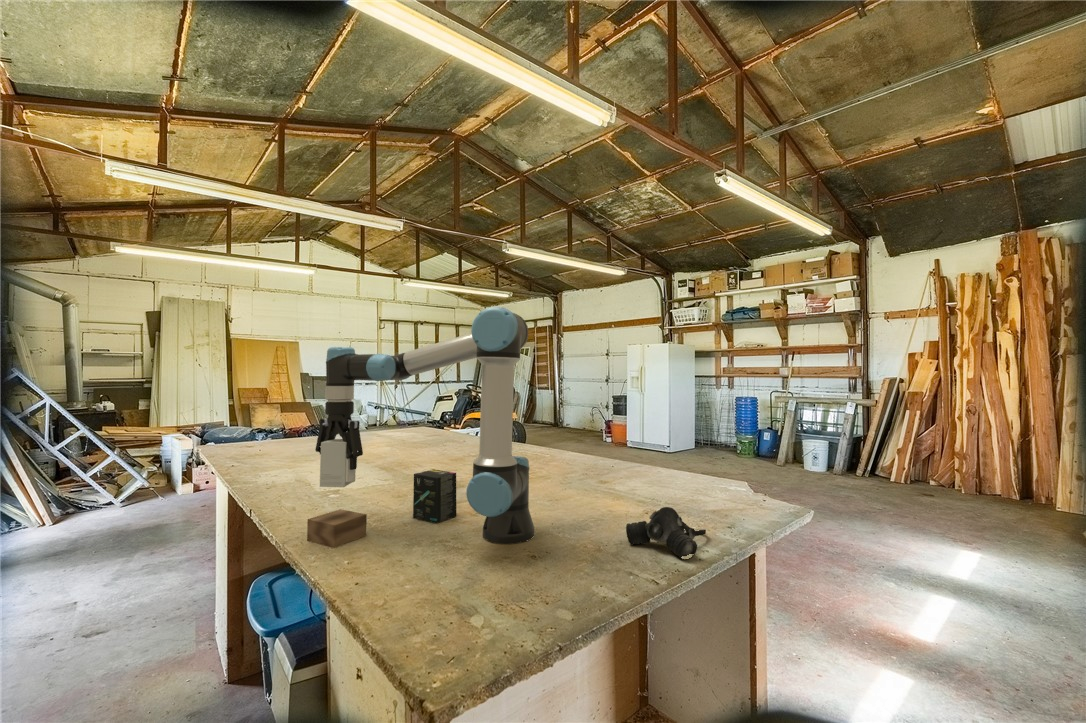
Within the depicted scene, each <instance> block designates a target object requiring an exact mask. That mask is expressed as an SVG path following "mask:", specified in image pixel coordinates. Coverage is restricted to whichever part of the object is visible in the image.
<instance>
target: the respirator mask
mask: <svg viewBox="0 0 1086 723" xmlns="http://www.w3.org/2000/svg"><path fill="white" fill-rule="evenodd" d="M649 519H650V521H649V522H647V521H646V520H642V521H638V522H632V523H626V526H625V533H626V538H627V542H628V543H629V545H631V544H633V543H635V544H634V545H641V544H648V543H650V542H651V540H653V541H655V542H659V543H663V544H666V547H667V548H668V549H669V550H671V552H672V553H674V554H675V555H676V556H677V555H678V556H679V557H678V556H677V557H678V558H679V559H681V557H682V556H687V555H689V554H694V555H695V554H696V553H697V550H698V544H697V542H696V541H695V540H694V539H695V537H697V536H703V535H706V534H707V533H706V532H707V530H706V529H705V528H704V529H698V530H699V531H695V530H694V529H695V528H693V527H690V526H689V525H688V524H687V523H685V522H684V521H683V518H682V516H679V513H678V512H677V511H676V510H675V509H674V508H673V507H670V506H663V507H661V508H660V509H658V510H657V511H653V512H652V514H651V515H649ZM684 529H685V530H686V531H684ZM640 543H641V544H640Z"/></svg>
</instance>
